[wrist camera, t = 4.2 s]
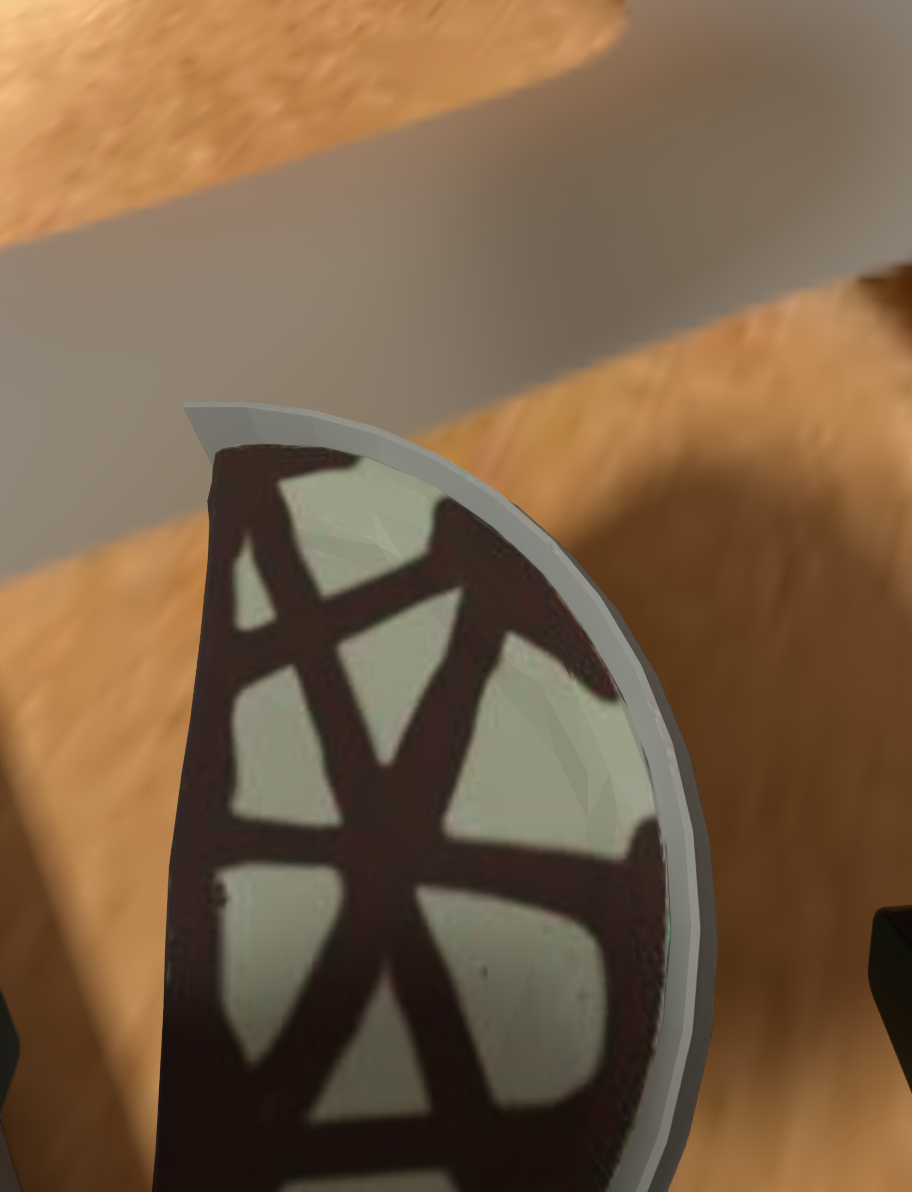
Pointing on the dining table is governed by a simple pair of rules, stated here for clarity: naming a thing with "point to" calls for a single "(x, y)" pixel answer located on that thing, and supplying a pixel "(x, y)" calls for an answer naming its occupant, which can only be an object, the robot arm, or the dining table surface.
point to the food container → (421, 844)
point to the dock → (7, 1168)
